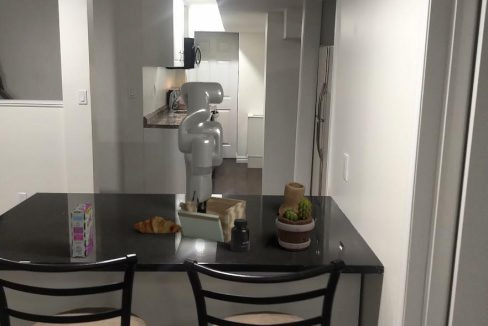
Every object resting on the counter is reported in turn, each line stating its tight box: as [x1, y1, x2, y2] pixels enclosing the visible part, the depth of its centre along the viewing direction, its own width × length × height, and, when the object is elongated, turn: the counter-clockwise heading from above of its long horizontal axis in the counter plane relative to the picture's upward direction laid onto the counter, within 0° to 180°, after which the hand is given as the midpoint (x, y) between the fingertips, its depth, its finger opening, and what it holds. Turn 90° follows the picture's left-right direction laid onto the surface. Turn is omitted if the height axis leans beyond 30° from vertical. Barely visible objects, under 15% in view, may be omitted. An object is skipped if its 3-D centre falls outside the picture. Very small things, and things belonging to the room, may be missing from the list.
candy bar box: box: [70, 203, 94, 258], centre depth 165 cm, size 11×5×16 cm, turn 5°
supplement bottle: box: [230, 218, 251, 254], centre depth 168 cm, size 7×7×12 cm
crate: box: [180, 196, 247, 243], centre depth 186 cm, size 17×20×13 cm
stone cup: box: [278, 181, 306, 215], centre depth 218 cm, size 15×12×15 cm
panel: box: [176, 209, 225, 243], centre depth 176 cm, size 1×17×12 cm, turn 67°
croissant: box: [133, 215, 181, 234], centre depth 189 cm, size 21×10×8 cm, turn 81°
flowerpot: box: [274, 196, 316, 252], centre depth 174 cm, size 14×15×20 cm
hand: (201, 218), depth 176 cm, fingers closed
